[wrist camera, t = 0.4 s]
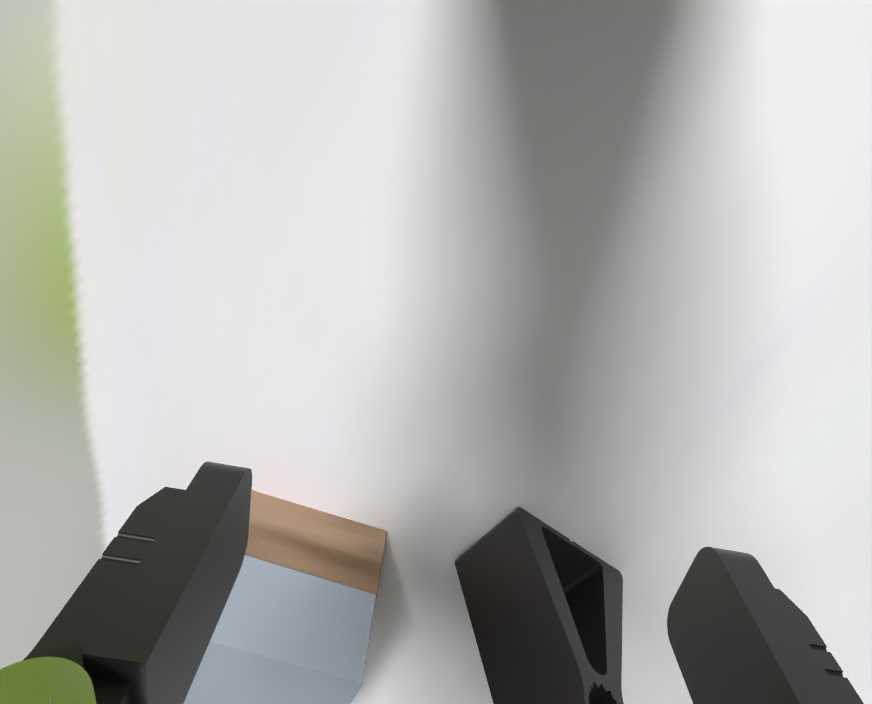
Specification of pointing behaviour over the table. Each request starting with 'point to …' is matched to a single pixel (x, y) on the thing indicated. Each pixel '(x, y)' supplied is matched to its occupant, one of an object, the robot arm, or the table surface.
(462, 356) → the table surface
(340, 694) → the tower top
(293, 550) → the tower bottom
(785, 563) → the table surface
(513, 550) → the phone stand
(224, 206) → the table surface
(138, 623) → the robot arm
